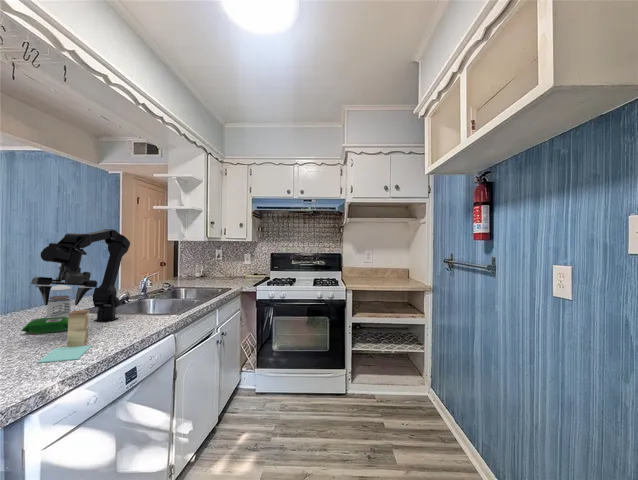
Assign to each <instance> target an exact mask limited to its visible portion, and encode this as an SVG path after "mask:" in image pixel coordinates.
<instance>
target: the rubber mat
mask: <svg viewBox="0 0 638 480" xmlns="http://www.w3.org/2000/svg"><path fill="white" fill-rule="evenodd" d="M92 347H93V344H92V345H91V344H89V345H84V346H75V347H67V346H65V347H63V346H62V347H56V348H54V349H53V350H52V351H50V352H49V353H48V354H46V355H45V356H44V357H42V358H41V359H40V360H38V361H37V362H36V363H37V364H47V363H58V362H57V361H59V362H67V361H66V360H70V361H78V360H80V357H81V356H82V355H83V354H84V353H85V352H86V353H87V352H89V349H91V348H92ZM86 353H85V354H86ZM83 356H84V355H83ZM83 356H82V357H83ZM82 357H81V358H82Z"/></svg>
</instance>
